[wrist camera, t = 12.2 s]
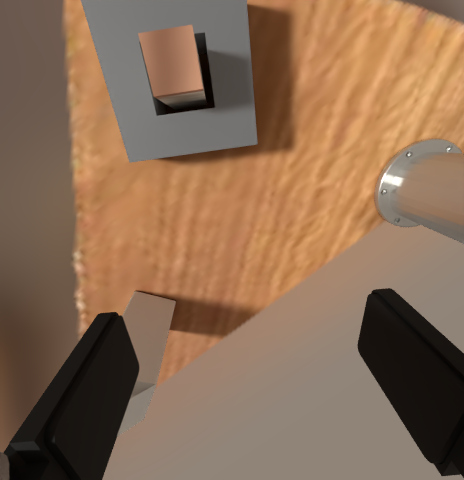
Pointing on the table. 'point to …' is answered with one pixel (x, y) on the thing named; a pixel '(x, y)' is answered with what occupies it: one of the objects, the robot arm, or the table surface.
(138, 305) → the milk carton
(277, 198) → the table surface
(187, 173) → the table surface
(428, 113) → the table surface
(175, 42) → the peg
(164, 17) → the socket block
